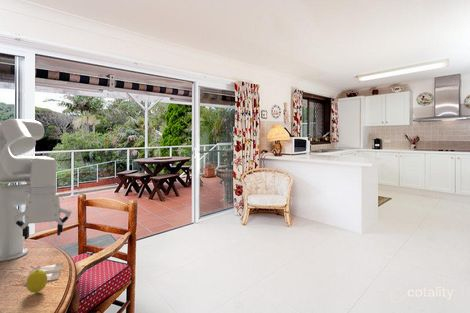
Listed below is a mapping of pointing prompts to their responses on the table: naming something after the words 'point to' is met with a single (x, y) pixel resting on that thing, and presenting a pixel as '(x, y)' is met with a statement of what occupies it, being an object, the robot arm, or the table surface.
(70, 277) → the table surface
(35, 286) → the lemon
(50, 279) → the label board
